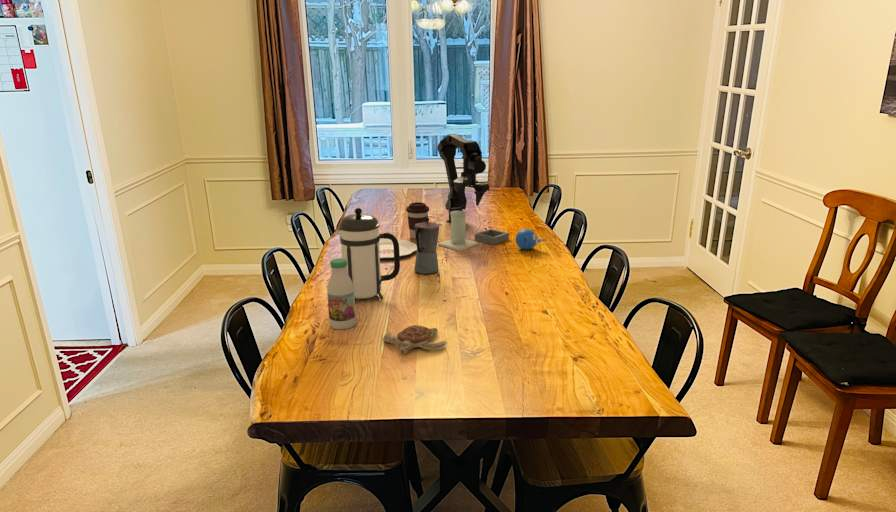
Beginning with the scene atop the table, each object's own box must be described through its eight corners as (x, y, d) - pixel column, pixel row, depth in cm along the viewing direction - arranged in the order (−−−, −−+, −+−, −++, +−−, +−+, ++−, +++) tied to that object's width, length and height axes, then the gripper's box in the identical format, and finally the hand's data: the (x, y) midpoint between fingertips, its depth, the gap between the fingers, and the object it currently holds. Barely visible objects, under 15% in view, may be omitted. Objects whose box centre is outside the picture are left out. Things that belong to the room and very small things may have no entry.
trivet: (438, 245, 244) (438, 243, 244) (457, 239, 252) (457, 236, 252) (459, 251, 236) (459, 248, 236) (478, 244, 245) (478, 242, 244)
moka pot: (445, 266, 219) (445, 214, 213) (431, 279, 205) (430, 225, 199) (422, 263, 222) (421, 212, 216) (406, 276, 208) (404, 223, 202)
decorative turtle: (371, 352, 155) (370, 335, 153) (397, 327, 170) (396, 311, 168) (434, 363, 149) (433, 345, 147) (455, 336, 164) (455, 319, 162)
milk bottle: (331, 319, 174) (326, 256, 168) (357, 318, 175) (353, 255, 168) (328, 331, 167) (323, 265, 160) (355, 329, 167) (351, 264, 161)
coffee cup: (430, 234, 260) (430, 201, 255) (428, 240, 251) (427, 206, 246) (409, 233, 261) (408, 201, 256) (405, 240, 252) (404, 206, 247)
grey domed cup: (450, 240, 247) (450, 210, 243) (465, 240, 247) (465, 210, 243) (450, 246, 239) (450, 215, 235) (466, 246, 239) (467, 215, 235)
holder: (474, 240, 251) (474, 233, 250) (490, 235, 258) (490, 228, 257) (493, 244, 244) (493, 238, 243) (508, 239, 251) (508, 232, 250)
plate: (428, 247, 242) (427, 242, 242) (397, 265, 221) (397, 260, 220) (376, 240, 253) (376, 236, 252) (343, 257, 231) (343, 252, 231)
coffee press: (369, 310, 181) (363, 216, 171) (330, 299, 189) (323, 210, 179) (402, 292, 195) (398, 204, 185) (365, 283, 203) (360, 199, 193)
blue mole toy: (543, 254, 231) (544, 234, 229) (514, 252, 233) (514, 232, 231) (545, 245, 242) (546, 226, 240) (516, 244, 245) (517, 224, 242)
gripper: (441, 169, 258) (442, 204, 263) (473, 174, 246) (473, 210, 251) (458, 166, 266) (458, 199, 271) (490, 171, 254) (489, 206, 259)
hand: (469, 204), depth 263 cm, fingers open, 9 cm apart
